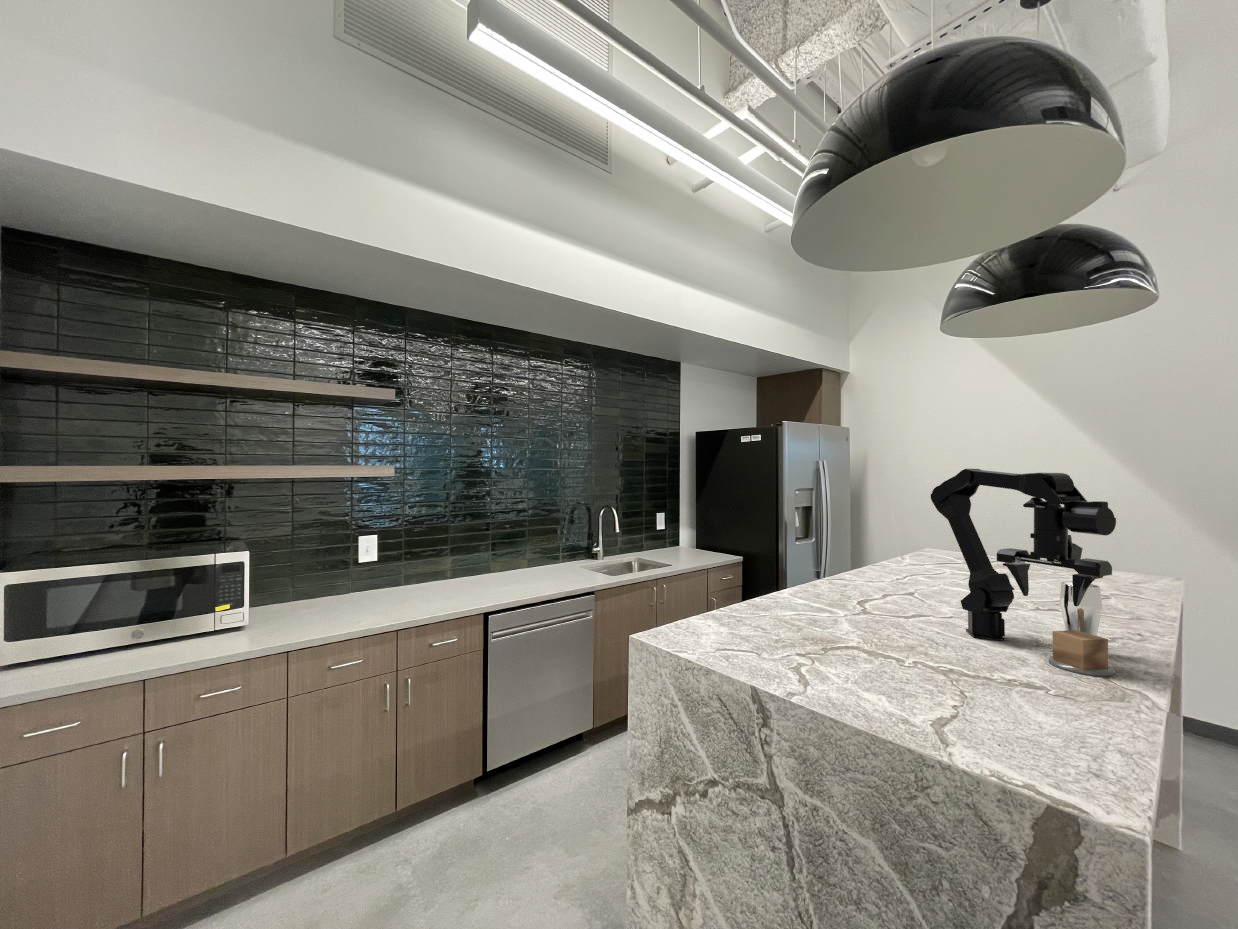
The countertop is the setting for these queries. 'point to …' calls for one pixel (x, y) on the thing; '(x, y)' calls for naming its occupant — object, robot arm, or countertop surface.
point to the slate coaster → (1097, 673)
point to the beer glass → (1081, 609)
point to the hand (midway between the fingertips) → (1050, 600)
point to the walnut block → (1080, 650)
